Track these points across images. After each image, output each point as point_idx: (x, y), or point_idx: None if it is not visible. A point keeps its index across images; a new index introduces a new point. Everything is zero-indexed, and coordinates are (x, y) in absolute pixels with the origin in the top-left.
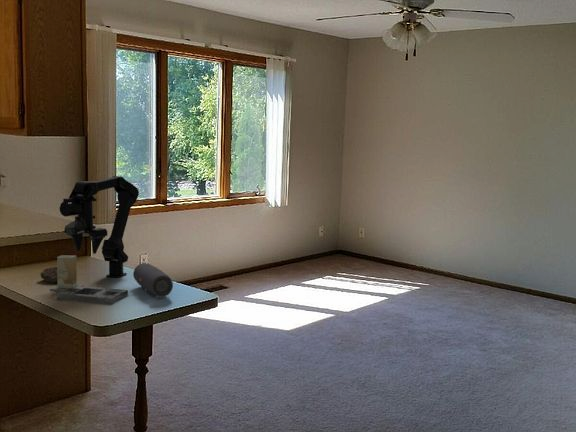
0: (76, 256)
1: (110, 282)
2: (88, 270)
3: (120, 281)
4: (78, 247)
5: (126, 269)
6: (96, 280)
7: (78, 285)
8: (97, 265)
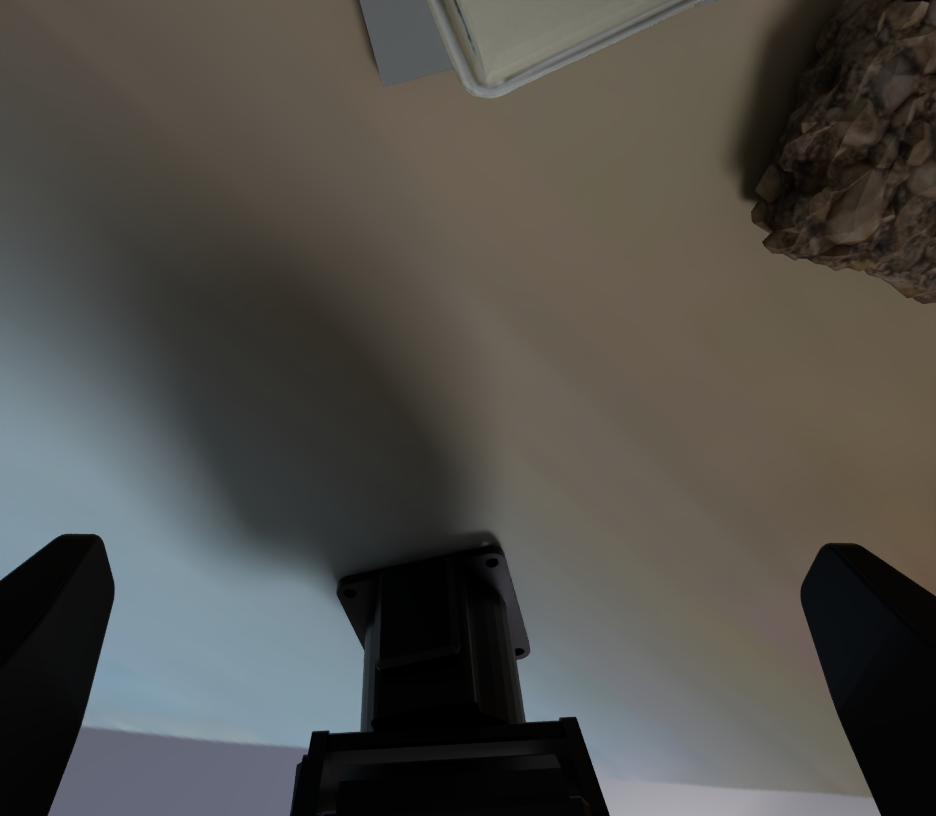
0: (455, 67)
1: (256, 416)
2: None
3: (201, 495)
4: (875, 652)
5: None
6: (477, 398)
7: (427, 7)
8: None
